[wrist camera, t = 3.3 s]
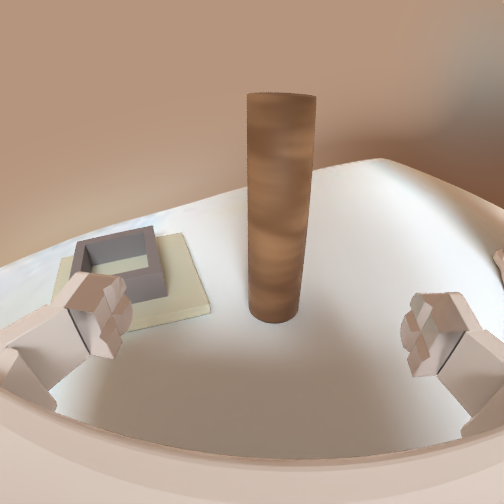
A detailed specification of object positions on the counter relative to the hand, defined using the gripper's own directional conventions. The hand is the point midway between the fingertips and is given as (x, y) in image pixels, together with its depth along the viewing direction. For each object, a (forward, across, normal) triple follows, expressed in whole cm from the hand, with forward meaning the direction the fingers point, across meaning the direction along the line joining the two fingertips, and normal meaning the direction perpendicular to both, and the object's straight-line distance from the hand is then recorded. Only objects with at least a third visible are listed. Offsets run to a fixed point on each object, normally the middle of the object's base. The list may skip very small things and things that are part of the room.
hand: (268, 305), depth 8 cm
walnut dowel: (+12, 0, +11) cm, 17 cm away
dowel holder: (+14, +13, +12) cm, 22 cm away
